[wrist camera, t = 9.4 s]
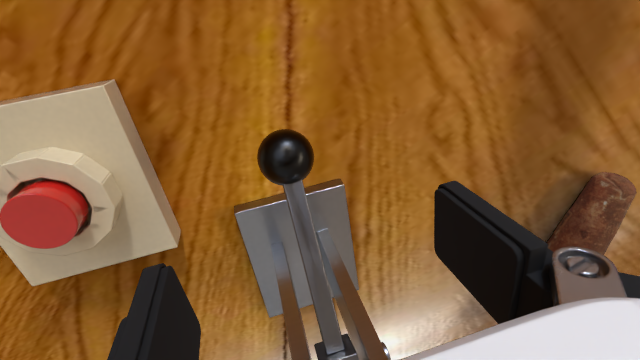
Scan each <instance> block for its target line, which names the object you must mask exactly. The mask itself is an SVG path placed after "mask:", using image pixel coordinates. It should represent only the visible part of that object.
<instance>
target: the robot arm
mask: <svg viewBox="0 0 640 360" xmlns="http://www.w3.org/2000/svg"><path fill="white" fill-rule="evenodd" d="M434 248H435V252H436V254H437V256H438V257H439V259H440V260H441V261H442V262H443V263H444V264H445V265H446V266H447V267H448V269H449V270H450V271H451V272H452V273H453V274H454V275H455V276H456V277H457V279H458V280H459V281H460V282H461V283H462V284H463V285H464V286H465V287H466V288H467V290H468V291H469V292H470V293H471V294H472V295H473V296H474V297H475V298H476V300H477V301H478V302H479V303H480V304H481V305H482V306H483V307H484V308H485V310H486V311H487V312H488V313H489V314H490V315H491V316H492V317H493V318H494V320H495V321H496V322H497V323H498V325H495V326H493V327H490V328H487V329H484V330H481V331H479V332H476V333H473V334H470V335H467V336H465V337H462V338H459V339H456V340H453V341H451V342H448V343H445V344H442V345H439V346H437V347H434V348H431V349H428V350H426V351H423V352H420V353H417V354H415V355H412V356H409V357H406V358H403V359H401V360H640V276H635V275H630V274H625V273H620V272H618V271H617V268H616V267H615V265H614V264H613V262H612V261H610V260H609V259H608V258H607V257H606V256H604V255H602V254H600V253H598V252H596V251H593V250H590V249H587V248H582V247H574V246H568V247H562V248H559V249H557V250H556V251H555V252H553V251H551V250H550V249H549V248H548V244H547V243H546V242H544V241H543V240H541V239H540V238H538V237H537V236H535V235H534V234H533V233H531V232H530V231H528V230H527V229H525V228H524V227H522V226H521V225H519V224H518V223H517V222H515V221H514V220H512V219H511V218H509V217H508V216H506V215H505V214H504V213H502V212H501V211H499V210H498V209H496V208H495V207H493V206H492V205H491V204H489V203H488V202H486V201H485V200H483V199H482V198H480V197H479V196H478V195H476V194H475V193H473V192H472V191H470V190H469V189H467V188H466V187H465V186H463V185H462V184H460V183H459V182H457V181H451V182H448V183H444V184H441V185H439V187H438V190H436V191H435V217H434ZM200 336H201V329H200V324H199V321H198V319H197V317H196V315H195V313H194V311H193V309H192V306H191V304H190V302H189V300H188V298H187V296H186V294H185V292H184V290H183V288H182V286H181V284H180V282H179V280H178V278H177V275H176V273H175V271H174V269H173V268H172V266H167V267H166V265H165V264H164V263H161V264H158V265H154V266H151V267H147V268H144V269H143V271H142V274H141V277H140V280H139V283H138V286H137V289H136V292H135V295H134V298H133V301H132V304H131V307H130V310H129V313H128V316H127V317H125V318H124V319H123V320H122V321H121V323H120V325H119V328H118V331H117V333H116V336H115V339H114V342H113V345H112V348H111V351H110V353H109V356H108V359H107V360H199V349H200Z"/></svg>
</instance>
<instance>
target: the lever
mask: <svg viewBox="0 0 640 360" xmlns="http://www.w3.org/2000/svg"><path fill="white" fill-rule="evenodd" d="M257 159H258V165H259V168H260V170H261V172H262V173H263V175H264V176H265V177H266V178H267V179H268V180H270V181H271V182H273V183H275V184H278V185H283V188H284V192H285V196H286V200H287V204H288V208H289V212H290V215H291V219H292V223H293V227H294V231H295V235H296V239H297V243H298V247H299V250H300V254H301V258H302V262H303V266H304V270H305V274H306V278H307V282H308V285H309V289H310V293H311V297H312V301H313V305H314V309H315V313H316V317H317V320H318V324H319V328H320V332H321V336H322V340H323V342H320V343H317V344H315V345H314V346H315V350H316V354H317V358H318V360H359V358H358V354H357V352H356V350H355V348H354V346H353V344H352V342H351V340H350V338H349V336H348V334H344V335H341V332H340V328H339V324H338V320H337V316H336V312H335V308H334V304H333V300H332V296H331V292H330V288H329V284H328V280H327V276H326V272H325V268H324V264H323V260H322V257H321V253H320V249H319V245H318V241H317V237H316V233H315V229H314V225H313V221H312V217H311V213H310V209H309V205H308V201H307V197H306V193H305V189H304V185H303V182H302V180H303V179H304V178H306V176H307V175H308V174H309V173H310V171H311V169H312V166H313V162H314V153H313V149H312V146H311V144H310V143H309V141H308V140H307V139H306V138H305V137H304V136H303V135H302V134H300V133H298V132H296V131H294V130H288V129H282V130H277V131H275V132H272V133H271V134H269V135H268V136H267V137H266V138H265V139H264V140H263V141H262V143H261V145H260V147H259V150H258V156H257Z"/></svg>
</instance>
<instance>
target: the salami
mask: <svg viewBox="0 0 640 360" xmlns="http://www.w3.org/2000/svg"><path fill="white" fill-rule="evenodd" d="M635 195H636V188H635V186H634V185H633V184H632V183H631V182H630V181H629V180H628V179H627V178H625V177H623V176H620V175H618V174H615V173H607V172H602V173H599V174H596V175H594V176H593V177H592V178H591V179H590V181H589V182H588V183H587V185H586V186H585V188H584V189H583V191H582V192H581V194H580V195H579V197H578V198H577V200H576V201H575V203H574V204H573V205H572V207H571V208H570V209H569V210H568V211H567V213H566V214H565V216H564V217H563V219H562V220H561V222H560V223H559V225H558V226H557V228H556V229H555V231H554V233H553V235H552V236H551V238H550V239H549V240H548V242H547V244H548V248H549V249H550V250H551V251H553V252H555V251H556V250H557V249H559V248H562V247H568V246H574V247H582V248H587V249H590V250H593V251H596V252H598V253H600V254H602V255H604V254H605V252H606V250H607V248H608V246H609V245H610V243H611V241H612V239H613V238H614V236H615V234H616V233H617V231H618V229H619V227H620V225H621V222H622V220H623V219H624V217H625V215H626V213H627V210H628V209H629V207H630V205H631V202H632V201H633V199H634V197H635Z"/></svg>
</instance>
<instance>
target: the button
mask: <svg viewBox="0 0 640 360" xmlns="http://www.w3.org/2000/svg"><path fill="white" fill-rule="evenodd" d="M87 217H88V205H87V202H86V200H85V199H84V197H83V196H82V195H81V194H80V193H79V192H78V191H77V190H76V189H74V188H73V187H71V186H69V185H67V184H64V183H61V182H57V181H47V180H46V181H37V182H34V183H31V184H29V185H27V186H25V187H24V188H23V189H22V190H20V191H19V192H18V193H17V194H16V195H14V196H13V197H12V198H11V199H9V200H8V201H7V202H6V203H5V204H4V205H3V207H2V209H1V211H0V223H1V226H2V228H3V229H4V231H5V232H6V233H7V234H8V235H9V236H10V237H11V238H12V239H14V240H15V241H17V242H19V243H21V244H23V245H26V246H28V247H32V248H39V249H50V248H56V247H59V246H62V245H64V244H66V243H68V242H69V241H71V240H72V239H73V238H74V236H75V235H76V234H77V232H78V231H79V229H80V228H81V226H82V225H83V224H84V222H85V221H86V219H87Z"/></svg>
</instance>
